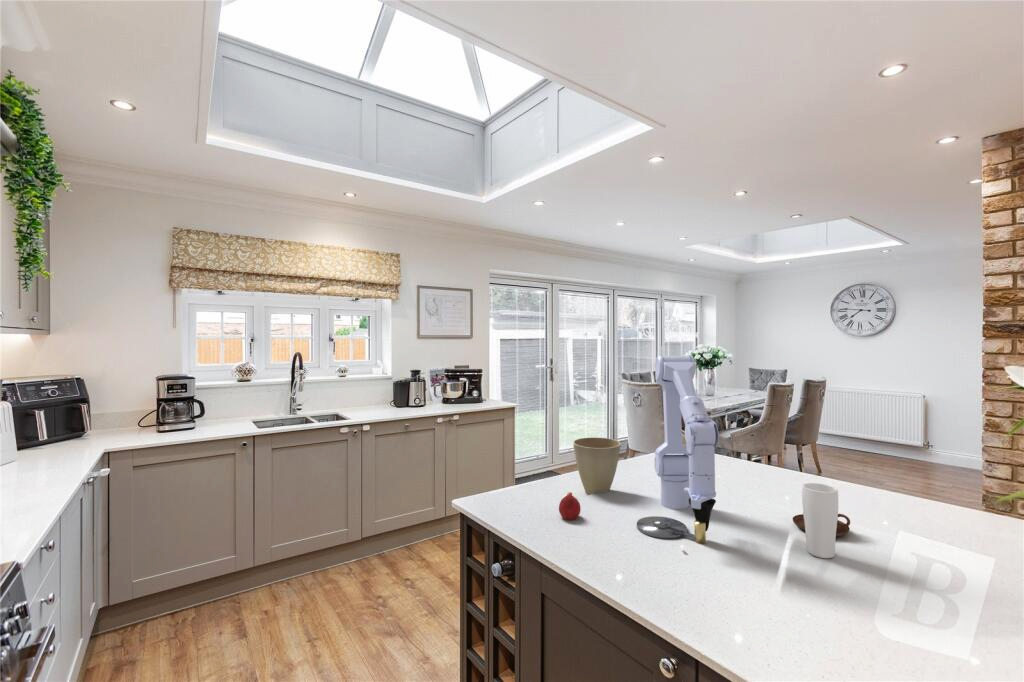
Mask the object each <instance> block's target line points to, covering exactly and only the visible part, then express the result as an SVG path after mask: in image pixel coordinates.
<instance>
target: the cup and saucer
mask: <svg viewBox="0 0 1024 682" xmlns="http://www.w3.org/2000/svg"><path fill="white" fill-rule="evenodd" d="M838 518H844V519H845V520H846V523H845V522H843V521H841V520H839V519H837V529H836V537H841V536H844V535H847V534H848V533H849V532H850V525H851V520H850V518H849V516H847V515H845V514H843V513H838ZM792 521H793V523H794V525H795V526H797V527H798V528H799V529H800V530H803V531H805V522H804V513H803V512H802V514H796V515H794V516H793V517H792Z"/></svg>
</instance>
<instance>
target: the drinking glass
mask: <svg viewBox="0 0 1024 682" xmlns="http://www.w3.org/2000/svg"><path fill="white" fill-rule="evenodd" d="M801 493H802V495H801V499H802V502H801V503H802V514H803V513H804V522H805V530H804V531H805V539H806V540H805V541H806V548H805V549H806V551H807V552H808V553H809V554H810V555H812V556H814V557H817V558H821V559H832V558H834V557H835V555H836V540H837V539H836V538H837V536H836V529H837V519H838V518H839V517H838V514H839V490H838V489H837V488H836V487H835V486H831V485H828V484H824V483H818V482H807V483H806V482H805V483H804V484H802V491H801ZM838 520H839V519H838Z"/></svg>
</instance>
